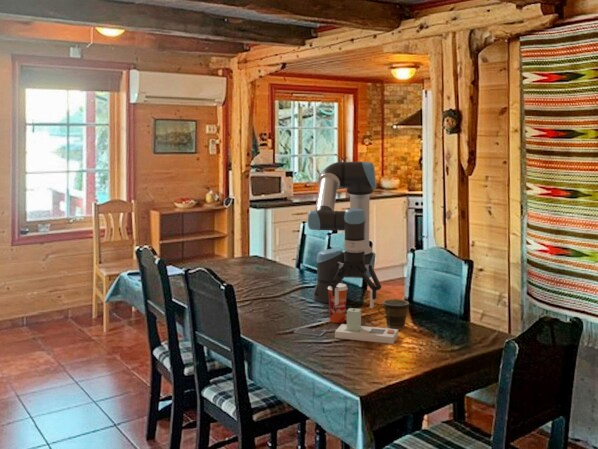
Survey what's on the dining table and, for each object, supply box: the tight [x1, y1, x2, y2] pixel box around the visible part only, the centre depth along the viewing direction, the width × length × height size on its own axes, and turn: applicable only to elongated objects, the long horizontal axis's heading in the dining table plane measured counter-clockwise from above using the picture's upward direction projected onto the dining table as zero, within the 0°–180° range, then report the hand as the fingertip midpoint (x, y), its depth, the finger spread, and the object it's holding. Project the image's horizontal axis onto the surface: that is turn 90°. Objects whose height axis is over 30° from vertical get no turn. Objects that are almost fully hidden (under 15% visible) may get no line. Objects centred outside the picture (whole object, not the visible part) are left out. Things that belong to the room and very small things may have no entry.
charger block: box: [346, 307, 362, 332], centre depth 238 cm, size 4×4×10 cm
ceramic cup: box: [377, 298, 410, 330], centre depth 248 cm, size 13×10×10 cm
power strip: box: [334, 323, 399, 345], centre depth 237 cm, size 10×22×3 cm, turn 71°
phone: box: [293, 327, 327, 337], centre depth 243 cm, size 6×11×1 cm, turn 67°
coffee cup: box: [328, 282, 349, 324], centre depth 257 cm, size 8×8×15 cm
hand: (354, 305), depth 238 cm, fingers open, 13 cm apart
